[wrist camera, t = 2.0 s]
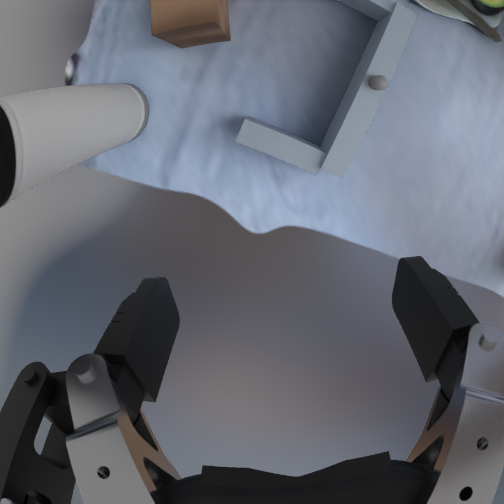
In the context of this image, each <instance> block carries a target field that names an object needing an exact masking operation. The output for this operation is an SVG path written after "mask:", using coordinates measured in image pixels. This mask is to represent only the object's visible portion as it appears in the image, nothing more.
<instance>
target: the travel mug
mask: <svg viewBox="0 0 504 504" xmlns="http://www.w3.org/2000/svg"><path fill="white" fill-rule="evenodd" d="M148 115H149V106H148V101H147V99H146V96H145V95H144V93H143V92H142V91H141V90H140V89H139V88H138V87H136V86H134V85H131V84H89V85H74V86H63V87H54V88H45V89H38V90H32V91H26V92H20V93H15V94H10V95H5V96H1V97H0V207H3V206H5V205H6V204H8V203H9V202H10V201H11V200H14V199H15V198H17V197H18V196H20V195H22V194H23V193H25V192H27V191H28V190H30V189H32V188H33V187H35V186H37V185H39V184H40V183H42V182H44V181H46V180H48V179H49V178H51V177H53V176H55V175H57V174H59V173H61V172H63V171H65V170H67V169H68V168H70V167H73V166H74V165H77V164H79V163H81V162H83V161H85V160H87V159H89V158H91V157H94V156H96V155H98V154H100V153H103V152H105V151H107V150H110V149H112V148H114V147H117V146H119V145H122V144H124V143H127V142H129V141H131V140H133V139H135V138H136V137H137V136H138V135H140V133H141V132H142V131H143V129H144V128H145V126H146V123H147V120H148Z"/></svg>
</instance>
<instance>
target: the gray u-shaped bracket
mask: <svg viewBox="0 0 504 504" xmlns="http://www.w3.org/2000/svg"><path fill="white" fill-rule="evenodd" d="M336 1H339V2H341V3H343V4H345V5H347V6H349V7H351V8H353V9H355V10H357V11H359V12H361V13H363V14H365V15H367V16H369V17H370V18H372V19H374V20H376V21H378V22H377V24H376V26H375V28H374V31H373V33H372V35H371V37H370V40H369V42H368V44H367V46H366V48H365V51H364V53H363V55H362V57H361V59H360V62H359V64H358V66H357V68H356V70H355V72H354V75H353V77H352V79H351V81H350V83H349V85H348V88H347V90H346V92H345V94H344V96H343V98H342V101H341V103H340V105H339V107H338V109H337V111H336V113H335V115H334V118H333V120H332V122H331V124H330V126H329V128H328V130H327V132H326V135H325V137H324V139H323V141H322V143H321V145H320V146H318V145H316V144H313V143H311V142H309V141H307V140H305V139H302V138H300V137H298V136H296V135H293V134H291V133H289V132H286V131H284V130H281V129H279V128H277V127H274V126H272V125H269V124H267V123H264V122H261V121H259V120H256V119H254V118H251V117H247V118H245V119H244V121H243V124H242V126H241V129H240V131H239V134H238V136H237V139H236V141H235V142H237V143H240V144H243V145H245V146H248V147H250V148H253V149H256V150H258V151H261V152H263V153H266V154H268V155H271V156H273V157H276V158H278V159H281V160H283V161H285V162H288V163H290V164H292V165H295V166H297V167H299V168H302V169H304V170H306V171H308V172H311V173H313V174H315V175H316V174H317V172H318V170H319V168H321V169H323V170H325V171H327V172H329V173H331V174H333V175H336V176H338V177H340V178H342V179H343V177H344V175H345V173H346V171H347V169H348V168H349V166H350V164H351V162H352V160H353V158H354V156H355V154H356V152H357V150H358V148H359V146H360V144H361V142H362V140H363V138H364V136H365V134H366V132H367V129H368V127H369V125H370V123H371V121H372V119H373V117H374V115H375V113H376V111H377V109H378V106H379V104H380V102H381V100H382V98H383V96H384V93H385V91H386V89H387V87H388V85H389V82H390V80H391V78H392V76H393V74H394V71H395V69H396V67H397V64H398V62H399V60H400V58H401V55H402V53H403V50H404V48H405V46H406V43H407V41H408V38H409V36H410V34H411V31H412V29H413V26H414V24H415V21H416V19H417V16H418V15H417V14H415V13H414V12H412V11H411V10H409V9H408V8H406V7H405V6H403V5H402V4H400V3H398V2H397V3H396V1H397V0H336Z"/></svg>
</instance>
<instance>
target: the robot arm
mask: <svg viewBox="0 0 504 504" xmlns="http://www.w3.org/2000/svg"><path fill="white" fill-rule="evenodd" d="M392 305H393V309H394V312H395V314H396V316H397V318H398V320H399V322H400V324H401V326H402V329H403V330H404V333H405V335H406V337H407V339H408V341H409V344H410V346H411V348H412V350H413V353H414V355H415V357H416V359H417V362H418V364H419V366H420V369H421V371H422V373H423V376H424V378H425V381H426V382H429V381H433V380H436V379H438V380H439V382H440V385H439V387H438V389H437V391H436V395H435V398H434V401H433V404H432V407H431V410H430V412H429V415H428V418H427V421H426V423H425V426H424V428H423V431H422V433H421V436H420V438H419V439H418V441H417V443H416V444H415V446H414V447H413V449H412V450H411V452H410V454H409V456H408V458H407V459H406V461H399V460H390V455H389V452H388V451H387V452H383V453H380V454H375V455H370V456H366V457H361V458H356V459H351V460H345V461H342V462H340V463H337V464H335V465H332V466H330V467H327V468H324V469H322V470H319V471H315V472H312V473H310V474H306V475H303V476H299V477H293V476H286V475H280V474H274V473H269V472H264V471H260V470H255V469H251V468H235V467H232V468H231V467H215V466H204V465H203V467H202V474H198V475H194V476H189V477H186V478H183V479H182V478H181V476H180V475H179V473H178V472H177V470H176V469H175V468H174V466H173V465H172V464H171V462H170V461H169V460H168V459H167V457H166V456H165V454H164V453H163V451H162V449H161V447H160V446H159V444H158V441H157V440H156V438H155V436H154V434H153V432H152V430H151V428H150V426H149V424H148V421H147V420H146V417H145V415H144V413H143V411H142V410H141V405H142V402H143V401H148V402H156V398H157V396H158V392H159V389H160V385H161V382H162V379H163V375H164V372H165V369H166V366H167V363H168V360H169V357H170V353H171V350H172V347H173V344H174V341H175V338H176V335H177V332H178V329H179V323H180V319H179V312H178V309H177V306H176V303H175V300H174V298H173V295H172V292H171V289H170V286H169V283H168V281H167V279H166V278H165V277H158V278H145V279H143V281H142V282H141V284H140V285H139V287H138V289H137V291H136V292H135V293H132V294H131V295H130V296H128V297H127V298H126V299H125V300H124V301H123V302H122V303H121V305H120V307H119V308H118V310H117V312H116V314H115V315H114V317H113V319H112V320H111V323H110V324H109V325H108V327H107V329H106V331H105V333H104V335H103V336H102V338H101V340H100V342H99V343H98V345H97V347H96V349H95V351H94V353H93V354H85V355H83V356H80V357H78V358H77V359H76V360H75V361H73V362H72V363H71V365H70V366H69V368H68V370H67V371H62V372H56V373H51V372H50V371H49V370H48V368H47V367H46V366H45V365H44V364H43V363H42V362H33V363H30V364H29V365H27V366H26V367H25V368H24V369H23V370H22V371H21V372H20V374H19V376H18V377H17V379H16V382H15V383H14V385H13V387H12V389H11V391H10V393H9V395H8V397H7V399H6V401H5V403H4V405H3V407H2V409H1V412H0V504H71V499H72V494H73V489H74V485H75V481H76V482H77V485H78V487H79V490H80V494H81V496H82V499H83V502H84V504H492V501H493V499H494V496H495V493H496V490H497V487H498V484H499V481H500V477H501V474H502V470H503V466H504V334H503V332H502V331H501V330H500V329H499V328H498V327H496V326H494V325H492V324H490V323H484V322H482V323H479V321H478V320H477V318H476V317H475V315H474V314H473V313H472V311H471V310H470V308H469V307H468V306H467V304H466V303H465V301H464V300H463V299H462V297H461V296H460V295H458V292H457V291H456V289H455V288H453V287H452V284H451V283H450V282H449V281H448V280H447V278H446V277H445V276H444V275H443V274H441V273H440V272H438V271H437V270H435V269H432V268H431V267H430V266H429V265H428V264H427V262H426V261H425V260H424V259H423V258H422V257H421V256H415V257H406V258H401V259H400V260H399V262H398V267H397V273H396V278H395V283H394V288H393V293H392ZM43 416H44V417H46V418H47V419H48V420H49V421H50V422H51V423H52V425H51V428H50V430H49V433H48V436H47V439H46V441H45V444H44V448H43V450H42V453H41V455H39V454H38V453H37V452H36V451H35V448H34V440H35V436H36V434H37V431H38V429H39V426H40V423H41V421H42V418H43Z"/></svg>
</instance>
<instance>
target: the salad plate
mask: <svg viewBox="0 0 504 504" xmlns="http://www.w3.org/2000/svg"><path fill="white" fill-rule="evenodd" d="M414 1H415V2H416V3H417V4H419V5H420V6H422V7H424V8H426V9H428V10H429V11H432V12H434V13H437V14H440V15H443V16H446V17H449V18H454V19H458V20H462V21H465V22H468V23H471V24H472V25H474V26H476V27H477V28H478V29H479V30H481V31H482V32H483V33H484V34H486V35H487V36H488V37H490V38H491V39H493V40H494V41H495V42H498V41H501V38H500V35H499V34H498V33H497V31H496V29H497V27H498V26H499V24H500V23H501V21H502V11H503V10H504V0H414Z"/></svg>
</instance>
